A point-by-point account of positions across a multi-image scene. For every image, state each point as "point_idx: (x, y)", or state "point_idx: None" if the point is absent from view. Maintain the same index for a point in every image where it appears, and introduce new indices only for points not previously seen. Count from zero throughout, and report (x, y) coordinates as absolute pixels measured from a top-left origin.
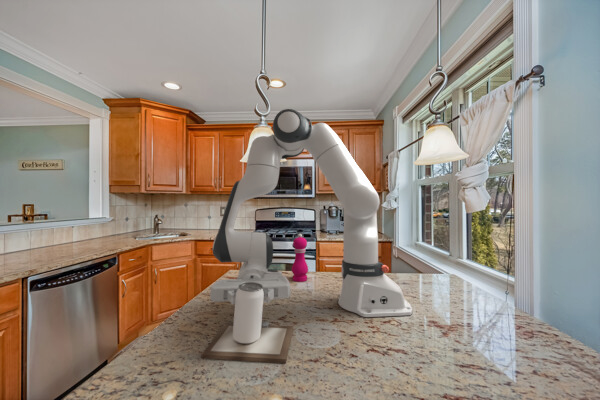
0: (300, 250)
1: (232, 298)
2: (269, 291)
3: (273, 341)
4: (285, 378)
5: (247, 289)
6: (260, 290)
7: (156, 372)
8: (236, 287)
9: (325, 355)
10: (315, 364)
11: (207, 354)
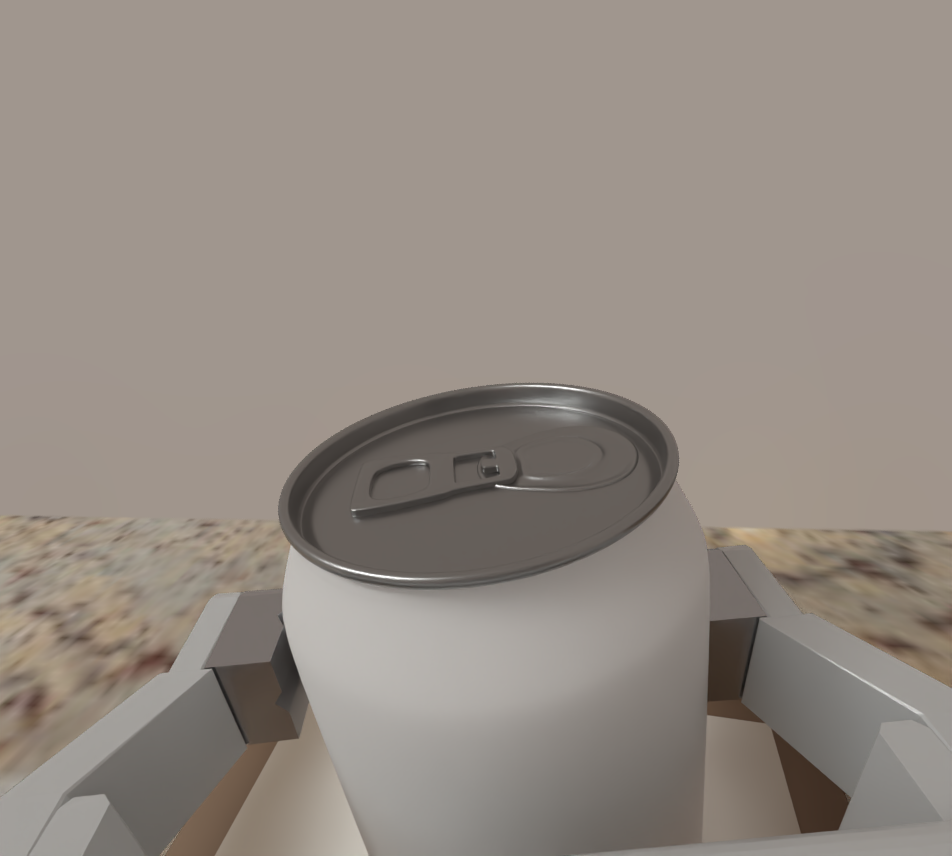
0: None
1: (722, 551)
2: (131, 736)
3: (316, 809)
4: None
5: (514, 433)
6: (345, 449)
7: (949, 621)
8: (928, 825)
9: (71, 695)
10: (176, 634)
11: None
